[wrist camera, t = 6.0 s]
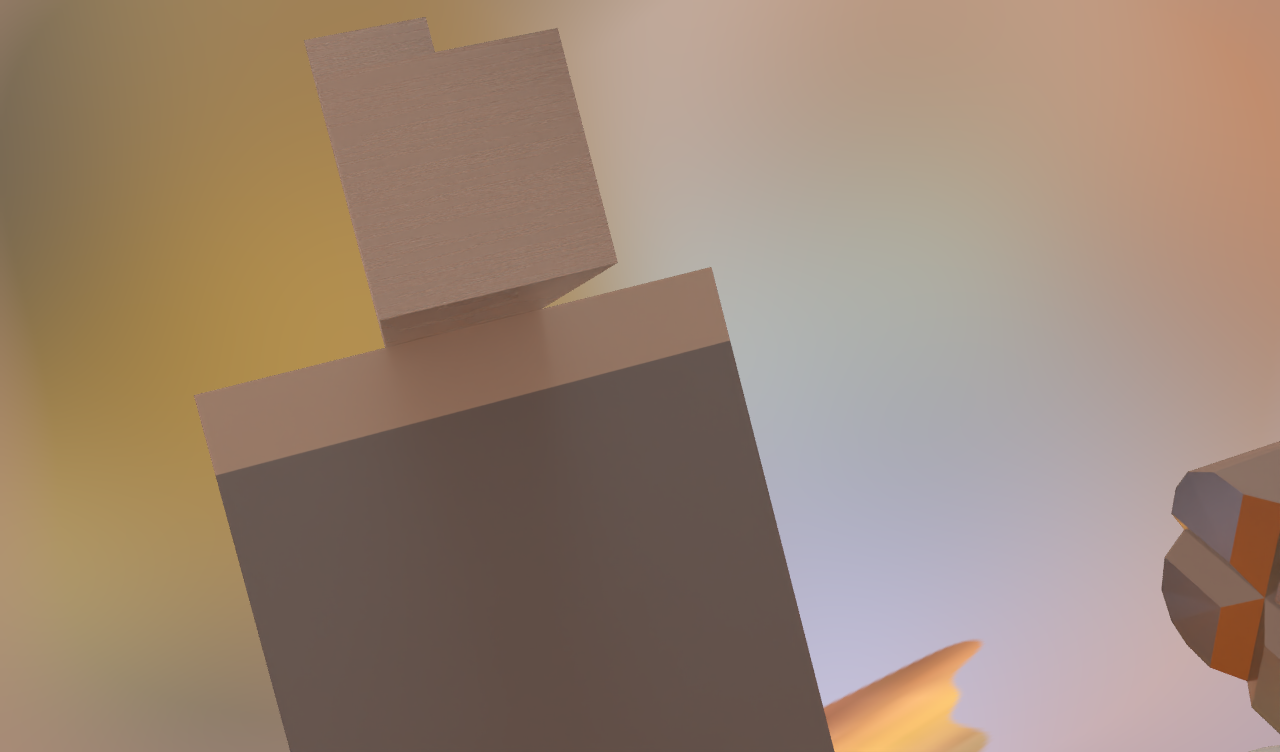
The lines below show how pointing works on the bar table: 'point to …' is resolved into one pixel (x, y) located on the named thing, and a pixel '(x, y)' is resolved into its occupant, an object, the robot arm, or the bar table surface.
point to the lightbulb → (1268, 749)
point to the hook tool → (460, 174)
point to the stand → (520, 539)
